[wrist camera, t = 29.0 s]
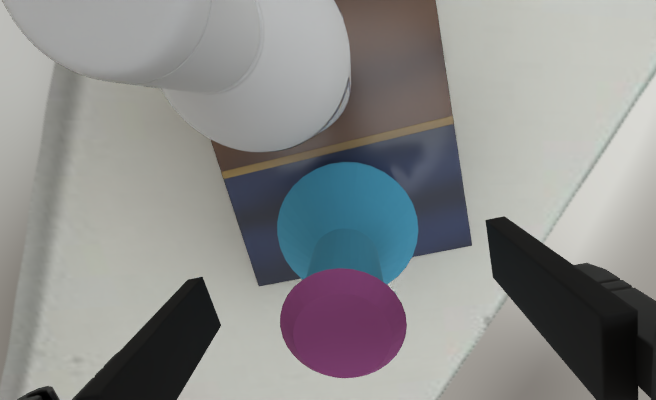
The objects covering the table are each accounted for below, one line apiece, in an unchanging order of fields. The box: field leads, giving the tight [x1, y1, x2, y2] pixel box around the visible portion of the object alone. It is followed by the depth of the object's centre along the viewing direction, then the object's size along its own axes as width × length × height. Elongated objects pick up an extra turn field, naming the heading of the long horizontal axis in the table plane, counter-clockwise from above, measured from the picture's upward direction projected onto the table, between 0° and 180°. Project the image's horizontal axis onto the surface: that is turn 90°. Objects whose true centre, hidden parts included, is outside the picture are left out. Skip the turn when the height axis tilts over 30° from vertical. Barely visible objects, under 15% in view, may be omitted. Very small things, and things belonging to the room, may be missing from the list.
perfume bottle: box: [277, 162, 418, 378], centre depth 19 cm, size 9×9×15 cm
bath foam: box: [2, 0, 351, 152], centre depth 14 cm, size 7×7×20 cm
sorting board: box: [211, 0, 472, 286], centre depth 25 cm, size 20×18×1 cm
